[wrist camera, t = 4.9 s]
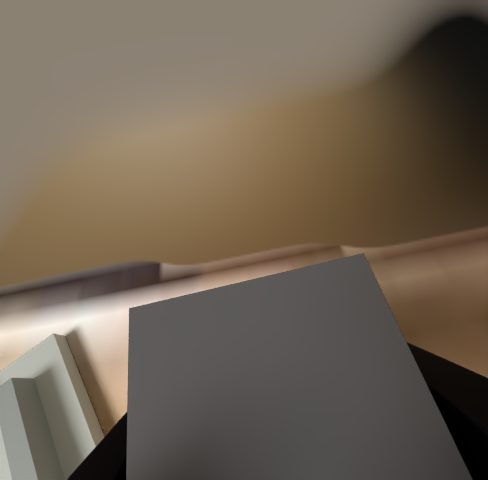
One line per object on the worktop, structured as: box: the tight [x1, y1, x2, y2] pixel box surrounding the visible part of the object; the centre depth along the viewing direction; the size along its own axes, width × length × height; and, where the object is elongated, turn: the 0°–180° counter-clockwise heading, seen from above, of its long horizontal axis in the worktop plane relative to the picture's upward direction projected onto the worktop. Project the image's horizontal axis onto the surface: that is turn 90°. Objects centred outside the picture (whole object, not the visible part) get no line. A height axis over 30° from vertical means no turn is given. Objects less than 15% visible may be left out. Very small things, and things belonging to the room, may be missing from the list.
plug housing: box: [126, 253, 472, 480], centre depth 9 cm, size 6×6×10 cm
